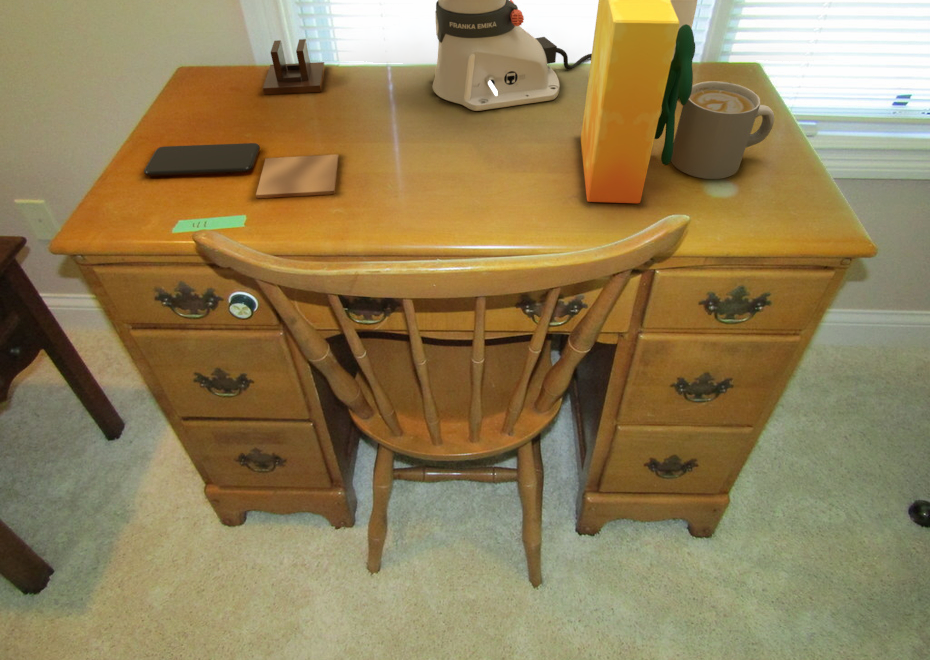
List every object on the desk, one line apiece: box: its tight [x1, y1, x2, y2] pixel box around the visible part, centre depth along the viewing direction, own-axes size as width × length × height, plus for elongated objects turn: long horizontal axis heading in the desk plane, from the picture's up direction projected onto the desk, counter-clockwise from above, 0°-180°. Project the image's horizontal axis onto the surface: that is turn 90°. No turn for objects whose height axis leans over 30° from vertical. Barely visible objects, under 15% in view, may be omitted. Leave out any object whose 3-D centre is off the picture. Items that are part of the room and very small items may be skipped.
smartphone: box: [143, 142, 261, 177], centre depth 96 cm, size 8×1×16 cm
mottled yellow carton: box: [580, 0, 696, 204], centre depth 85 cm, size 18×12×24 cm
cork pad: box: [255, 153, 340, 199], centre depth 93 cm, size 11×10×1 cm
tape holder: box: [262, 38, 326, 96], centre depth 113 cm, size 10×10×6 cm
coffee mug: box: [670, 80, 775, 180], centre depth 91 cm, size 13×10×10 cm
